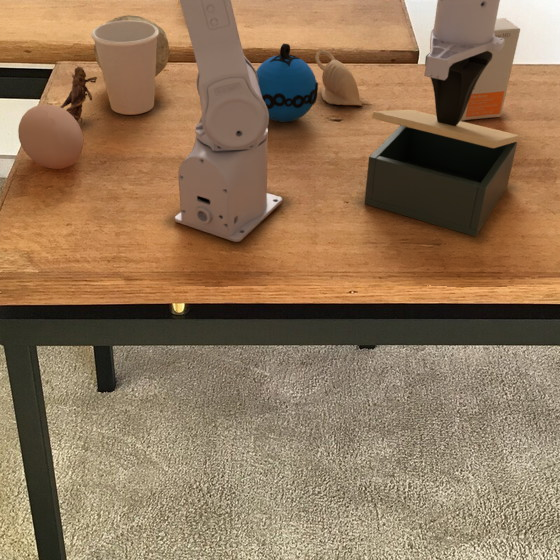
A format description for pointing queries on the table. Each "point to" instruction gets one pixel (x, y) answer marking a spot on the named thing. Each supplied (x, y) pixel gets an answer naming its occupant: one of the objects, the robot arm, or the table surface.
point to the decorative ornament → (338, 82)
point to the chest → (438, 178)
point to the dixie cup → (128, 64)
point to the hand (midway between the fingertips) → (448, 121)
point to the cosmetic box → (494, 76)
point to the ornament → (287, 86)
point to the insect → (78, 93)
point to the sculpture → (161, 48)
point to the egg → (50, 136)
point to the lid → (447, 127)
